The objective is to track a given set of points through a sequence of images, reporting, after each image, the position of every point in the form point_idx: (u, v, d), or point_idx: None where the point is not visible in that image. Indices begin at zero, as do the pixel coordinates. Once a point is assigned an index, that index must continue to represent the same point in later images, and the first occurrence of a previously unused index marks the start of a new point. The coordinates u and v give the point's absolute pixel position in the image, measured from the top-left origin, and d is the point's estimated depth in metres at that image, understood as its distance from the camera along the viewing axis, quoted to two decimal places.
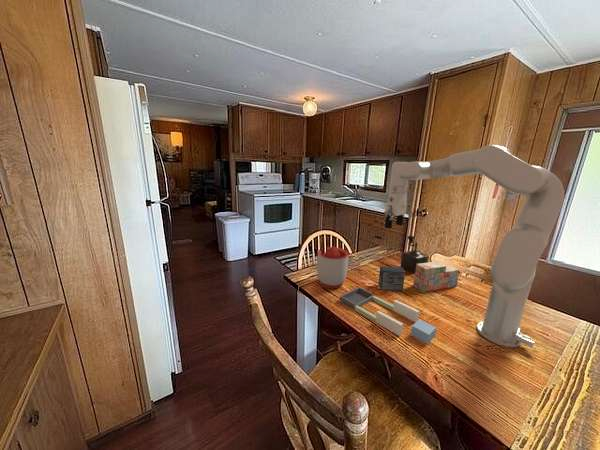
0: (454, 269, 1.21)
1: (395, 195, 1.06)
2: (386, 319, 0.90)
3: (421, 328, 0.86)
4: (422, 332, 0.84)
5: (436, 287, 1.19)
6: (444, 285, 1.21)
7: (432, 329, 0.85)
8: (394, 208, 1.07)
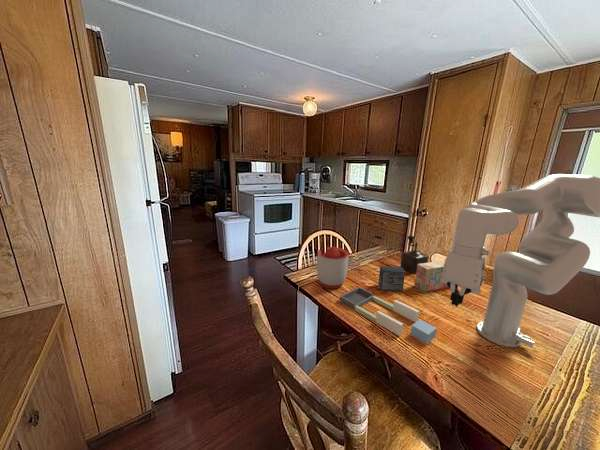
0: None
1: (484, 259, 0.70)
2: (386, 319, 0.90)
3: (420, 327, 0.86)
4: (421, 332, 0.84)
5: (437, 287, 1.19)
6: (445, 285, 1.21)
7: (432, 329, 0.85)
8: (483, 277, 0.72)
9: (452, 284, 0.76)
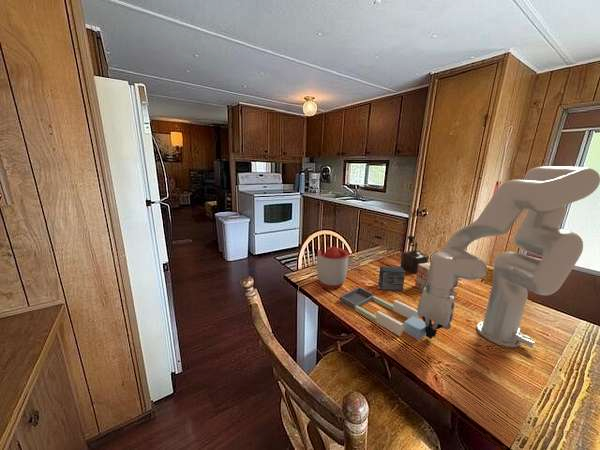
0: None
1: None
2: (386, 319, 0.90)
3: (413, 324, 0.87)
4: (414, 328, 0.86)
5: None
6: None
7: (424, 325, 0.87)
8: None
9: (426, 319, 0.84)
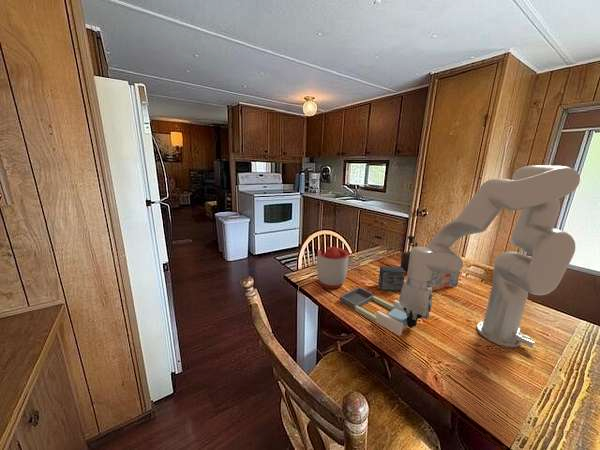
0: None
1: (431, 290, 0.84)
2: (386, 319, 0.90)
3: (395, 315, 0.92)
4: (396, 319, 0.91)
5: (438, 287, 1.19)
6: (446, 285, 1.21)
7: (405, 316, 0.92)
8: (431, 304, 0.85)
9: (407, 309, 0.89)
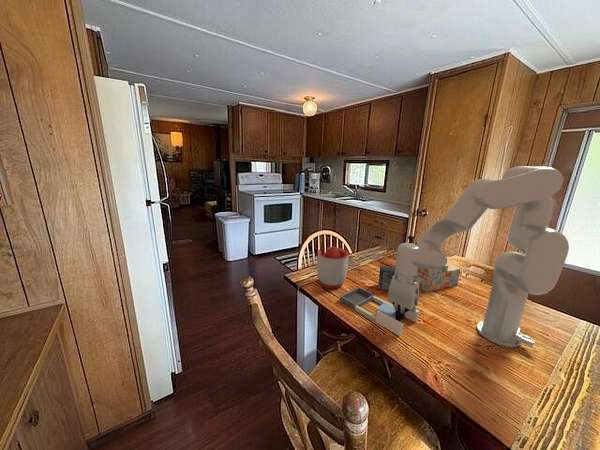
0: (455, 268, 1.22)
1: (418, 284, 0.87)
2: (386, 319, 0.90)
3: (384, 310, 0.95)
4: (385, 313, 0.94)
5: (438, 287, 1.20)
6: (446, 285, 1.21)
7: (394, 311, 0.95)
8: (418, 298, 0.89)
9: (395, 304, 0.92)
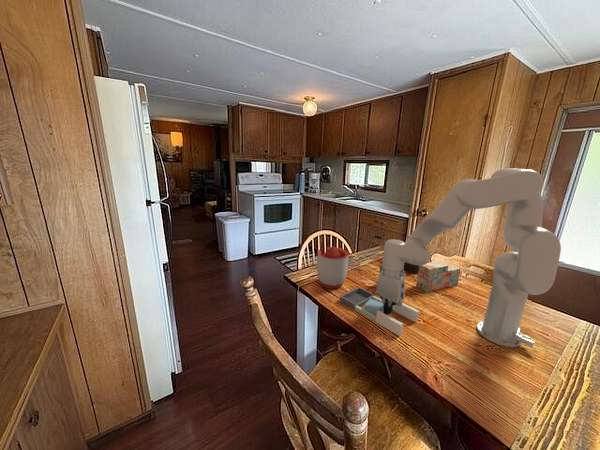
0: (455, 268, 1.22)
1: (404, 279, 0.91)
2: (386, 319, 0.90)
3: (372, 305, 0.98)
4: (373, 309, 0.97)
5: (439, 287, 1.20)
6: (446, 284, 1.22)
7: (381, 305, 0.98)
8: (404, 293, 0.93)
9: (383, 298, 0.96)
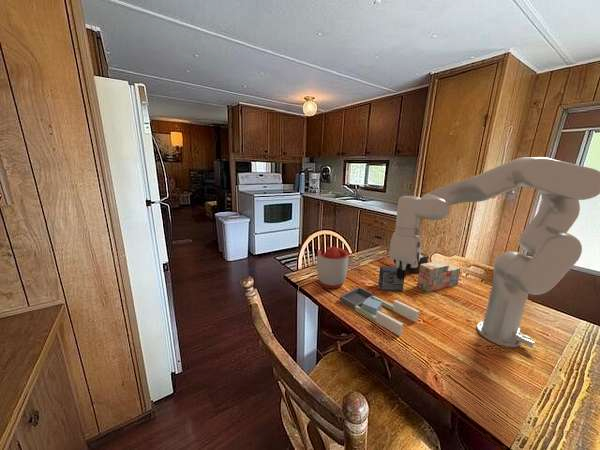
0: (455, 268, 1.23)
1: None
2: (386, 319, 0.90)
3: (370, 304, 0.99)
4: (371, 307, 0.98)
5: (439, 286, 1.20)
6: (446, 284, 1.22)
7: (378, 304, 0.99)
8: (420, 253, 0.86)
9: (397, 261, 0.89)
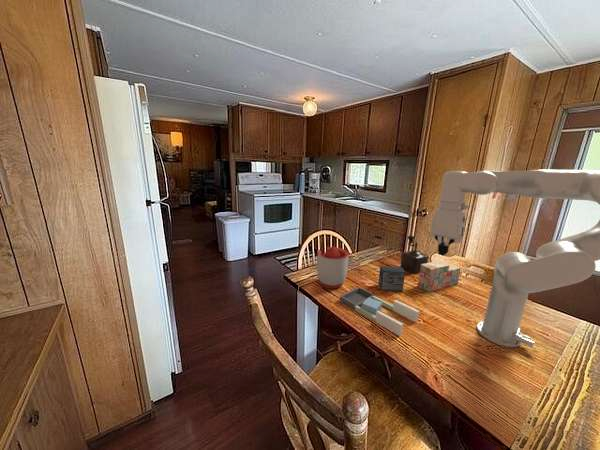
0: (455, 267, 1.23)
1: None
2: (386, 319, 0.90)
3: (369, 304, 0.99)
4: (371, 307, 0.98)
5: (440, 286, 1.20)
6: (447, 284, 1.22)
7: (378, 304, 0.99)
8: (464, 229, 0.86)
9: (439, 237, 0.90)
